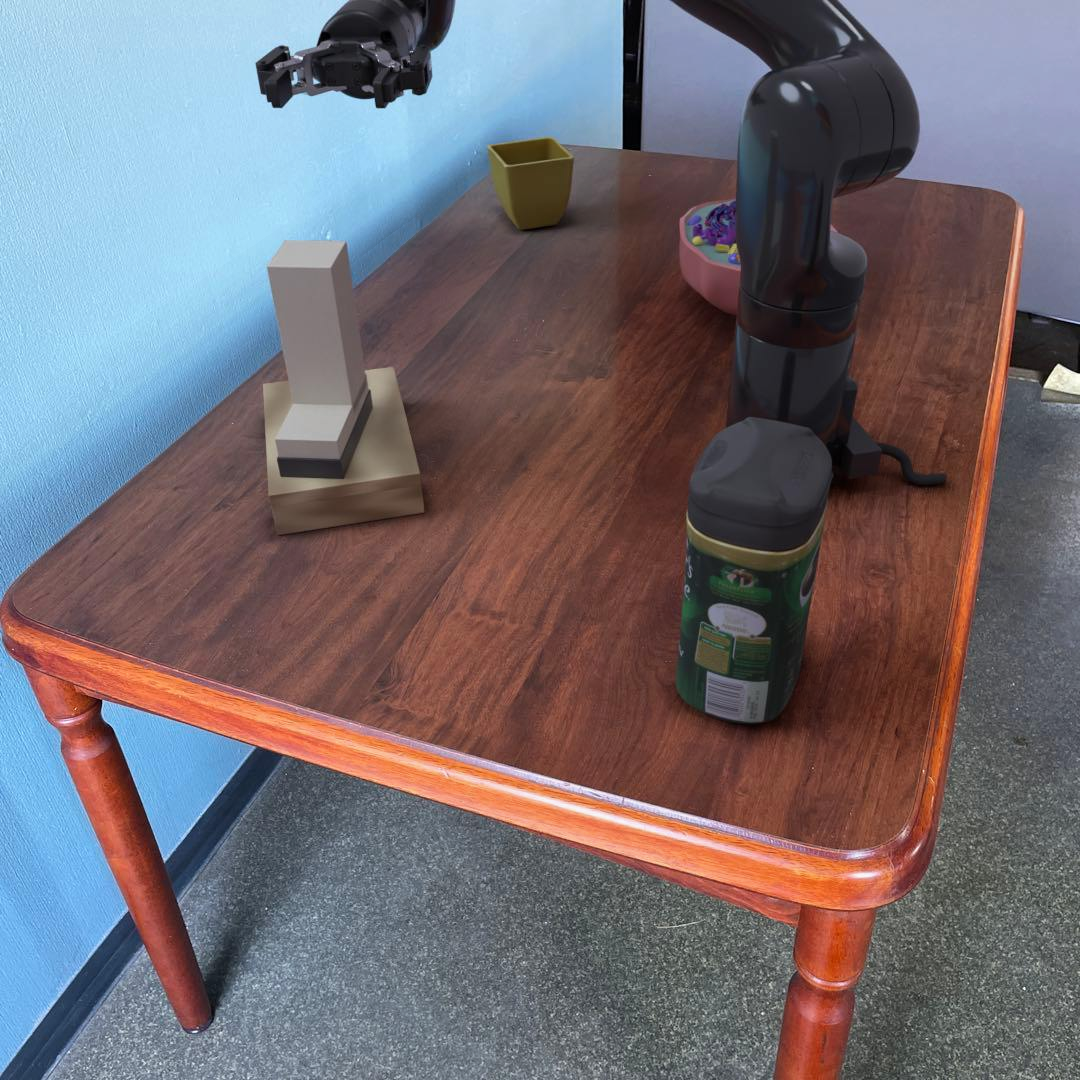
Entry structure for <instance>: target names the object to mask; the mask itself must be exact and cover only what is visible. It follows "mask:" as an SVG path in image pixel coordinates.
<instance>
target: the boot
mask: <svg viewBox="0 0 1080 1080" xmlns="http://www.w3.org/2000/svg"><path fill="white" fill-rule="evenodd" d="M350 264H351V263H350V257H349V250H348V243H347V240H309V239H308V240H303V239H302V240H300V239H285V240H283V242H282V243H281V245H280V246H279V247H278V249H277V251H276V252H275V254H274V255H273V256H272V258H271V259H270V261H269V262H268V264H266V270H267V277H268V281H269V286H270V293H271V296H272V297H271V298H272V303H273V308H274V312H275V318H276V323H277V328H278V333H279V336H280V337H279V339H280V343H281V348H282V354H283V358H284V364H285V368H286V374H287V379H288V380H289V385H290V390H291V395H292V400H293V405H292V407H291V409H290V411H289V413H288V415H287V417H286V419H285V420H284V422H283V424H282V426H281V428H280V430H279V432H278V434H277V436H276V438H275V443H276V447H277V452H278V457H277V462H278V467H279V472H280V476H281V477H301V478H331V479H344V477H345V474H346V472H347V469H348V467H349V464H350V462H351V460H352V457H353V455H354V452H355V450H356V447H357V445H358V442H359V440H360V437H361V435H362V433H363V430H364V428H365V425H366V423H367V420H368V418H369V415H370V413H371V410H372V408H373V404H372V397H371V390H369V388H368V381H367V374H366V373H365V370H366V369H365V361H364V356H363V355H364V354H363V348H362V341H361V334H360V327H359V320H358V313H357V307H356V300H355V292H354V285H353V278H352V271H351V265H350ZM288 380H287V381H288Z"/></svg>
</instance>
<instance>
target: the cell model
mask: <svg viewBox="0 0 1080 1080" xmlns="http://www.w3.org/2000/svg"><path fill="white" fill-rule="evenodd" d="M735 209H736V197H734V198H729V199H723V200H722V199H721V200H713V201H707V202H702V203H700V204H697V205H695V206H693V207H691V208H690V209H689V210H688V211H687V212H686V213H684V214H683V216H682V217H680V218H679V241H678V243H679V244H678V259H679V269H680V272H681V276H682V278H683V280H684V281H685V282H686V283H687V284H688V285H689V286H690V287H691V288H692V289H693V290H694V291H695V292H696V293H698V295H699V296H701V297H702V298H703V300H706V302H708V303H709V304H711V305H712V306H713V307H715V308H716V309H718V310H719V311H721V312H724V313H725V314H727V315H731V316H735V317H736V316H737V305H738V295H739V285H740V272H741V264H740V258H739V254H738V250H737V245H736V238H735ZM830 230H831V231H834V232H837V233H839V232H838V231H837V229H836V228H835V227H834V226H833V224H831V228H830Z"/></svg>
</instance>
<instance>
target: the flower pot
mask: <svg viewBox="0 0 1080 1080" xmlns="http://www.w3.org/2000/svg"><path fill="white" fill-rule="evenodd" d="M487 153H488V160H489V165H490V171H491V176H492V182H493V186H494V189H495V192H496V196H497V199H498V200H499V202H500V204H501V206H502V208H503V210H504V212H505V213H506V215H507V217H508V218H509V219H510V221H511V222H512V223H513V224H514V225H515V227H516V228H517V230H521V231H523V230H531V229H535V228H541V227H548V226H555V225H557V224H558V223H559V222H560V220H561V218H562V217H563V216H564V213H565V211H566V209H567V207H568V205H569V202H570V196H571V190H572V182H573V174H574V173H573V172H574V161H575V156H574V155H573V154H572V153H571V152H569V151H568V150H567V149H566V148H565V147H564V146H563V145H562V144H561V143H560V142H559V141H558V140H557V139H556V138H555V137H553V136H547V137H546V136H545V137H538V138H531V139H523V140H515V141H508V142H500V143H493V144H488V145H487Z"/></svg>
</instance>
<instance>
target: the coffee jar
mask: <svg viewBox="0 0 1080 1080" xmlns="http://www.w3.org/2000/svg"><path fill="white" fill-rule="evenodd" d="M832 478H833V473H832V459H831V456H830V453H829V451H828V449H827V448H826V446H825V445H824V444H823V442H822V441H821V440H820V439H819V438H818V437H817V436H816V435H815V434H814V433H813V431H812V430H811V429H809V428H806V427H802V426H798V425H794V424H789V423H785V422H780V421H774V420H768V419H762V418H755V417H748V418H746V419H745V420H744V421H741V422H738V423H736V424H734V425H731V426H729V427H727V428H726V427H725V428H724V429H722V430H720V431H719V432H718V433H716V434H715V436H713V437H712V438H711V440H709V443H708V444H707V446H706V447H705V449H704V450H703V451H702V452H701V454H700V456H699V458H698V459H697V461H696V464H695V466H694V468H693V470H692V474H691V475H690V478H689V483H688V498H687V508H686V517H685V519H686V552H685V553H686V554H685V569H684V582H683V594H682V605H681V606H682V608H681V619H680V629H679V638H678V639H679V641H678V652H677V661H676V673H675V686H676V690H677V693H678V695H679V696H680V697H681V699H682V700H683V701H684V702H685V703H686V704H687V705H689V706H690V707H692V708H693V709H695V710H697V711H699V712H700V713H702V714H704V715H706V716H708V717H711V718H714V719H717V720H721V721H723V722H727V723H732V724H742V725H759V724H765V723H767V722H768V723H769V722H771V721H773V720H774V719H776V718H777V717H778V716H779V715H780V714H781V713H782V712H783V711H784V710H785V708H786V707H787V705H788V703H789V701H790V699H791V697H792V695H793V693H794V690H795V687H796V685H797V682H798V679H799V676H800V673H801V672H800V671H801V667H802V662H803V657H804V656H803V655H804V650H805V644H806V637H807V630H808V624H809V623H808V622H809V617H810V609H811V603H812V597H813V593H814V592H813V591H814V587H815V581H816V575H817V568H818V562H819V557H820V550H821V544H822V538H823V532H824V526H825V522H826V521H825V520H826V513H827V507H828V502H829V494H830V489H831V485H830V483H831V480H832Z"/></svg>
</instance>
